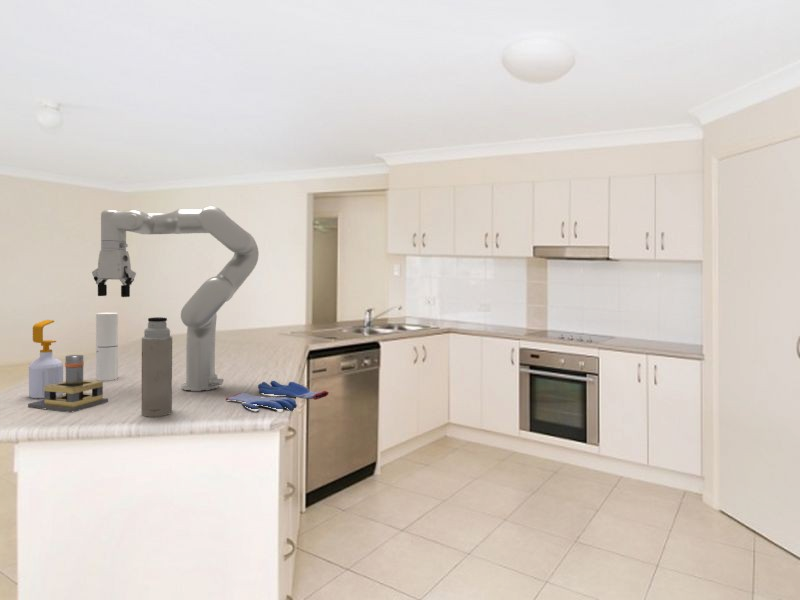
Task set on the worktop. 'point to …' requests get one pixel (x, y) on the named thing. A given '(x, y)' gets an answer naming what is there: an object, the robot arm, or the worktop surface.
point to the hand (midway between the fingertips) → (113, 296)
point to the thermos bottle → (156, 368)
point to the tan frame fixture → (71, 396)
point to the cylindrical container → (106, 346)
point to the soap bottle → (44, 365)
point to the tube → (74, 371)
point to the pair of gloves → (278, 389)
